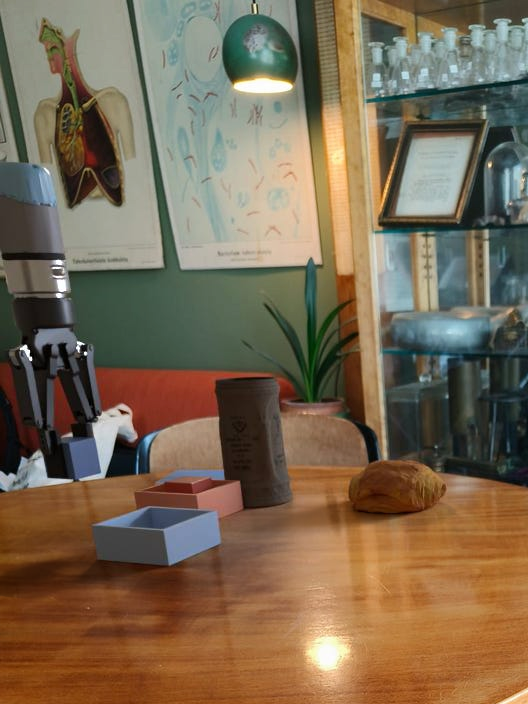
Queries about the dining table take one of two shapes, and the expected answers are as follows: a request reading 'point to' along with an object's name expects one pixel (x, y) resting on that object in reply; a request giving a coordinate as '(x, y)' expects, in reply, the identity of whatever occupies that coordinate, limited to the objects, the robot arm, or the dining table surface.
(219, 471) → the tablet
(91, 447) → the blue block
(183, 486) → the red block
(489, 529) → the dining table surface
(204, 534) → the blue bin
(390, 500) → the croissant
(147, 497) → the red bin
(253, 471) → the brown tall cylinder
